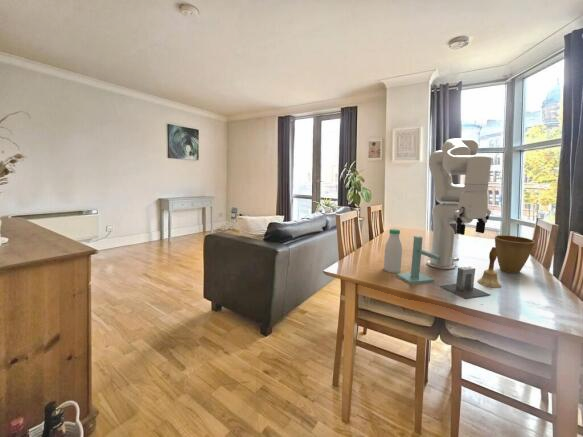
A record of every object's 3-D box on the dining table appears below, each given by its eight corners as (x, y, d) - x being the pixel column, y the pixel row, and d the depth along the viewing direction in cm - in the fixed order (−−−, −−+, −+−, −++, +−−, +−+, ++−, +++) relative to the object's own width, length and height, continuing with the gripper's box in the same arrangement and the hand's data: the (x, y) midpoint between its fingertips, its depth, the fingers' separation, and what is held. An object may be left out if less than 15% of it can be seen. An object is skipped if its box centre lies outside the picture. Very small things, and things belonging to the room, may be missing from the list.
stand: (417, 273, 128) (421, 233, 125) (447, 287, 112) (452, 242, 109) (395, 276, 125) (398, 235, 122) (423, 291, 109) (427, 244, 106)
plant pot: (483, 265, 141) (487, 235, 138) (512, 265, 141) (516, 235, 139) (506, 276, 126) (511, 242, 124) (538, 276, 126) (543, 242, 124)
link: (467, 287, 111) (469, 266, 110) (472, 290, 109) (475, 268, 108) (455, 289, 110) (457, 267, 108) (460, 291, 107) (463, 269, 106)
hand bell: (481, 278, 123) (485, 244, 120) (503, 284, 116) (508, 248, 114) (474, 283, 118) (478, 246, 115) (497, 289, 111) (502, 251, 109)
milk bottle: (401, 273, 128) (405, 231, 125) (384, 272, 129) (387, 230, 126) (398, 268, 135) (401, 228, 132) (382, 267, 137) (385, 227, 134)
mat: (462, 283, 117) (462, 282, 117) (489, 295, 105) (490, 294, 105) (439, 286, 113) (440, 285, 113) (465, 298, 102) (465, 297, 102)
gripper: (483, 188, 109) (478, 230, 112) (448, 188, 104) (444, 232, 107) (502, 189, 102) (496, 234, 105) (466, 190, 97) (460, 237, 100)
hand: (470, 233), depth 106 cm, fingers open, 9 cm apart
